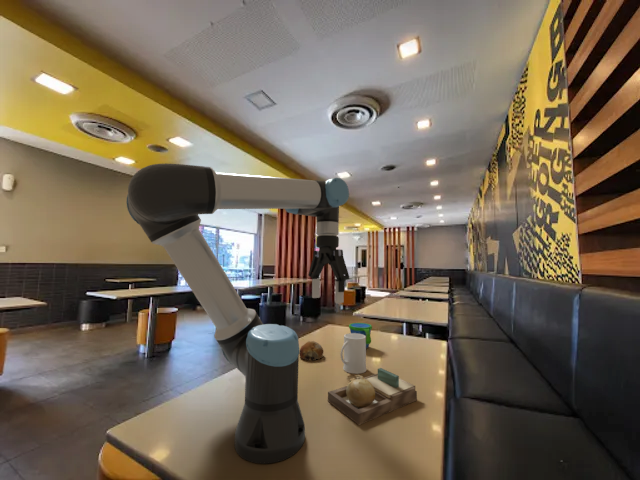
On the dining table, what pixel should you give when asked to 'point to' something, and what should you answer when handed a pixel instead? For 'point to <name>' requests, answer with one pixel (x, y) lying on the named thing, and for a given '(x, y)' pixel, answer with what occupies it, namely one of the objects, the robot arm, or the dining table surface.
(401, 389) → the cover
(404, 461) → the dining table surface
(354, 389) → the onion
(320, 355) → the bread roll
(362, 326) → the snack cup
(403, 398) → the brown sliding lid box
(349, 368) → the mug
